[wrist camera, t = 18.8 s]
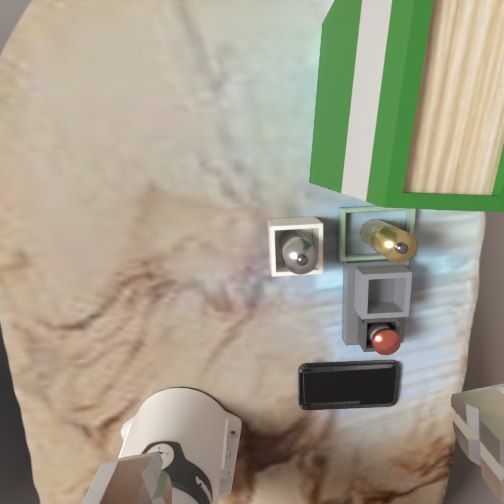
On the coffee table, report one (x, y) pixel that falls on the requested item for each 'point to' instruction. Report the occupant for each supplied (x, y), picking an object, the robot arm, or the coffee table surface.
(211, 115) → the coffee table surface
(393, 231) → the cell
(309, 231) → the white square bin
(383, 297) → the grey socket holder
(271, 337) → the coffee table surface
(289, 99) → the coffee table surface
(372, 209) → the pale green rectangular frame
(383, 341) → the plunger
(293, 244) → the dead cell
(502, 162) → the hardback book
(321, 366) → the phone
